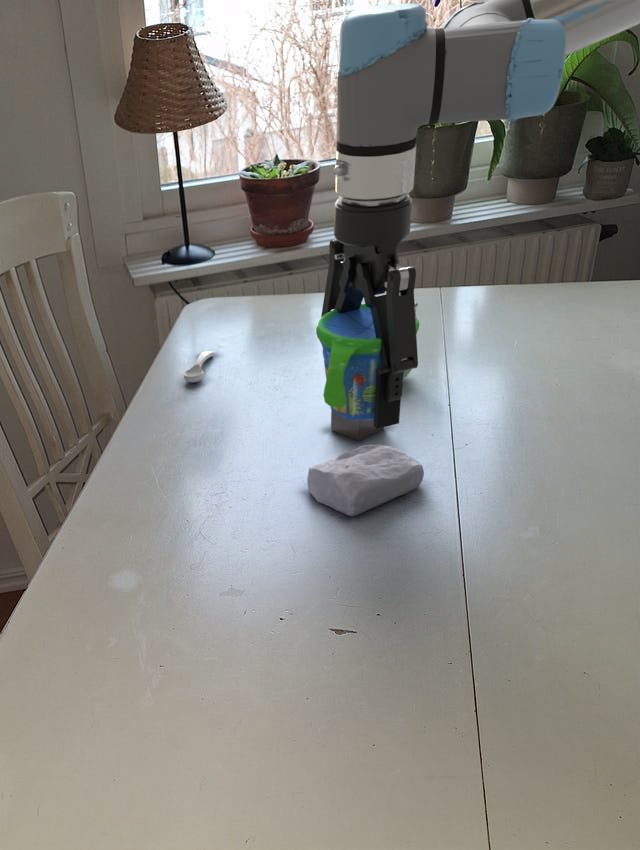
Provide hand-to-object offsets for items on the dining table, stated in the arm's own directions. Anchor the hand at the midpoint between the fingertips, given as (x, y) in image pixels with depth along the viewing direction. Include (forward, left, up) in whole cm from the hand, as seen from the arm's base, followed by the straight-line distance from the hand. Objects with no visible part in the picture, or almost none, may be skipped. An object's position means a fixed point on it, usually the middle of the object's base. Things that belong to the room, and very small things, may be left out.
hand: (363, 406), depth 104 cm
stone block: (0, 0, -11) cm, 11 cm away
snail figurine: (+25, -19, -11) cm, 33 cm away
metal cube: (+14, -7, -11) cm, 19 cm away
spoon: (+44, +4, -11) cm, 45 cm away
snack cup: (0, 0, 0) cm, 0 cm away
